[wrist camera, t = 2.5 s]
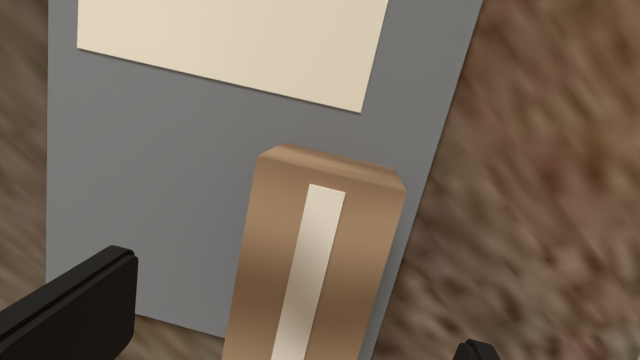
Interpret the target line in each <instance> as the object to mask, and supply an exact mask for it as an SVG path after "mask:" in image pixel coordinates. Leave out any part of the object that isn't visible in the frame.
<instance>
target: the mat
mask: <svg viewBox="0 0 640 360" xmlns="http://www.w3.org/2000/svg"><path fill="white" fill-rule="evenodd" d="M482 2H483V0H49V17H48V116H47V216H46V284H47V283H49V282H50V281H52V280H53V279H55V278H57V277H58V276H60V275H62V274H63V273H65V272H67V271H68V270H70V269H72V268H73V267H75V266H77V265H78V264H80V263H82V262H83V261H85V260H87V259H88V258H90V257H92V256H93V255H95V254H97V253H98V252H100V251H101V250H103V249H105V248H106V247H108V246H111V245H116V246H120V247H123V248H127V249H131V250H133V251H134V253H135V256H136V257H138V261H139V263H138V277H137V292H136V306H135V313H136V314H139V315H143V316H146V317H150V318H153V319H157V320H161V321H164V322H168V323H171V324H175V325H179V326H182V327H186V328H189V329H193V330H196V331H200V332H204V333H207V334H211V335H214V336H218V337H222V338H225V337H226V331H227V325H228V320H229V314H230V308H231V303H232V297H233V291H234V285H235V280H236V274H237V268H238V262H239V257H240V251H241V245H242V240H243V234H244V228H245V222H246V217H247V211H248V205H249V199H250V194H251V188H252V182H253V177H254V171H255V165H256V159H257V156H258V155H260V154H262V153H264V152H266V151H268V150H270V149H272V148H274V147H276V146H278V145H280V144H281V143H283V142H285V143H290V144H294V145H298V146H302V147H306V148H311V149H315V150H319V151H323V152H327V153H331V154H336V155H340V156H344V157H348V158H352V159H357V160H361V161H365V162H369V163H373V164H378V165H382V166H386V167H390V168H394V169H395V171H396V173H397V175H398V177H399V178H400V180H401V182H402V184H403V185H404V187H405V189H406V191H407V195H406V198H405V201H404V205H403V208H402V211H401V215H400V218H399V221H398V225H397V228H396V231H395V235H394V238H393V241H392V245H391V248H390V251H389V255H388V258H387V261H386V265H385V268H384V271H383V274H382V278H381V281H380V284H379V288H378V291H377V294H376V298H375V301H374V304H373V308H372V311H371V314H370V318H369V321H368V324H367V328H366V331H365V334H364V338H363V341H362V344H361V348H360V351H359V354H358V358H357V360H370V359H371V356H372V353H373V350H374V346H375V343H376V340H377V337H378V334H379V330H380V327H381V324H382V321H383V318H384V314H385V311H386V308H387V305H388V302H389V299H390V295H391V292H392V289H393V286H394V283H395V279H396V276H397V273H398V270H399V267H400V263H401V260H402V257H403V254H404V251H405V247H406V244H407V241H408V238H409V235H410V232H411V228H412V225H413V222H414V219H415V216H416V212H417V209H418V206H419V203H420V200H421V196H422V193H423V190H424V187H425V184H426V180H427V177H428V174H429V171H430V168H431V164H432V161H433V158H434V155H435V152H436V149H437V145H438V142H439V139H440V136H441V133H442V129H443V126H444V123H445V120H446V117H447V113H448V110H449V107H450V104H451V101H452V97H453V94H454V91H455V88H456V85H457V81H458V78H459V75H460V72H461V69H462V66H463V62H464V59H465V56H466V53H467V50H468V46H469V43H470V40H471V37H472V34H473V30H474V27H475V24H476V21H477V18H478V14H479V11H480V8H481V5H482Z"/></svg>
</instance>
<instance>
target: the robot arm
mask: <svg viewBox="0 0 640 360" xmlns="http://www.w3.org/2000/svg"><path fill="white" fill-rule="evenodd" d="M138 263H139V261H138V257H136V256H135V253H134V251H133V250H131V249H127V248H123V247H120V246H116V245H111V246H108V247H106V248H105V249H103V250H101V251H100V252H98V253H97V254H95V255H93V256H92V257H90V258H88V259H87V260H85V261H83V262H82V263H80V264H78V265H77V266H75V267H73V268H72V269H70V270H68V271H67V272H65V273H63V274H62V275H60V276H58V277H57V278H55V279H53V280H52V281H50V282H49V283H47V284H45V285H44V286H42V287H40V288H39V289H37V290H35V291H34V292H32V293H30V294H29V295H27V296H25V297H24V298H22V299H20V300H19V301H17V302H15V303H14V304H12V305H10V306H9V307H7V308H5V309H4V310H2V311H0V360H114V359H115V358H116V357H117V356H118V355H119V354H120V353H121V352H122V351H123V349H124V348H125V347H126V346H127V345H128V344H129V342H130V340H131V338H132V336H133V333H134V321H135V306H136V292H137V277H138ZM453 360H500V358H499V356H498V354H497V352H496V350H495V348H494V347H493V346H492V345H490V344H487V343H483V342H479V341H476V340H472V339H468V340H467V341H466V343H460V344H459V346H458V348H457V350H456V353H455V355H454V358H453Z"/></svg>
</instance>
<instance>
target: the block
mask: <svg viewBox="0 0 640 360" xmlns="http://www.w3.org/2000/svg"><path fill="white" fill-rule="evenodd" d="M406 195H407V191H406V189H405V187H404V185H403V184H402V182H401V180H400V178H399V177H398V175H397V173H396V171H395V169H394V168H390V167H386V166H382V165H378V164H373V163H369V162H365V161H361V160H357V159H352V158H348V157H344V156H340V155H336V154H331V153H327V152H323V151H319V150H315V149H311V148H306V147H302V146H298V145H294V144H290V143H285V142H283V143H281V144H280V145H278V146H276V147H274V148H272V149H270V150H268V151H266V152H264V153H262V154H260V155H258V156H257V159H256V165H255V171H254V177H253V182H252V188H251V194H250V199H249V205H248V211H247V217H246V222H245V228H244V234H243V240H242V245H241V251H240V257H239V262H238V268H237V274H236V280H235V285H234V291H233V297H232V303H231V308H230V314H229V320H228V325H227V331H226V337H225V343H224V348H223V354H222V360H357V358H358V354H359V351H360V348H361V344H362V341H363V338H364V334H365V331H366V328H367V324H368V321H369V318H370V314H371V311H372V308H373V304H374V301H375V298H376V294H377V291H378V288H379V284H380V281H381V278H382V274H383V271H384V268H385V265H386V261H387V258H388V255H389V251H390V248H391V245H392V241H393V238H394V235H395V231H396V228H397V225H398V221H399V218H400V215H401V211H402V208H403V205H404V201H405V198H406Z"/></svg>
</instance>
